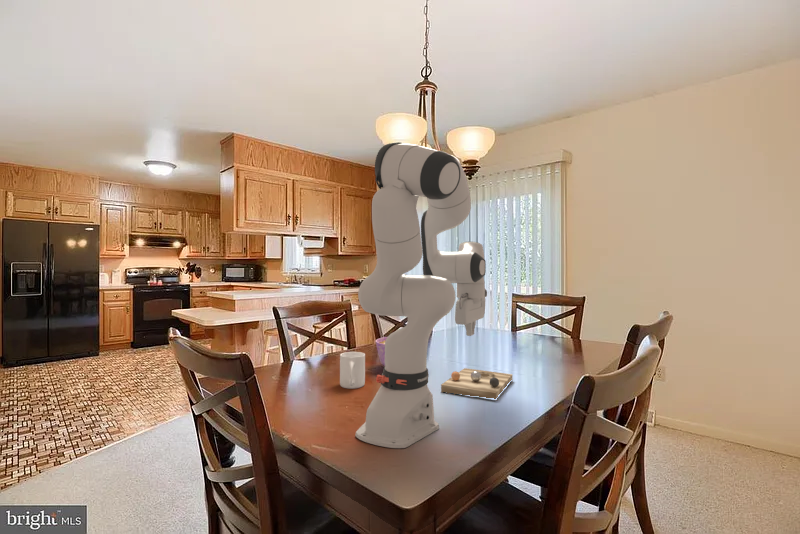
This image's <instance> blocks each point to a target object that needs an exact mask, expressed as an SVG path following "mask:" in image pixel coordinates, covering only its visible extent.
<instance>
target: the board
mask: <svg viewBox="0 0 800 534" xmlns="http://www.w3.org/2000/svg"><path fill="white" fill-rule="evenodd" d="M473 371H478V372H480V374H481V379H480V381H478V382H475V381H473V380H472V379H471V373H472V372H473ZM457 372H458V373H459V374H460V378H459V380H453V379H452V377H451V376H450V378H449V379H447V380H446V381H444V382H443V383H442V384H440V393H443V392H447V393H446V394H449V393H454V394H453V395H455V394H462V395H470V396H479V397H486V398H494V399H496V398H497V397H498V395H499V394H500V393H501V392H502V391H503V389H504V388H505V387H506V386H507V384H508V383H509V382H510V381H511V380H512V381H513V373H504V372H497V371H489V370H482V369H475V368H474V369H473V368H467V367H463V368H462V369H461V370H460V371H457ZM493 377H495V378H497V379H498V380H499V385H498V386H497V387H492V386H491V385H490V379H491V378H493Z"/></svg>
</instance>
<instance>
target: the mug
mask: <svg viewBox="0 0 800 534" xmlns="http://www.w3.org/2000/svg"><path fill="white" fill-rule="evenodd" d="M365 382H366V353H365V352H361V351H348V352H346V351H345V352H343V353H340V355H339V385H340V387H342V388H343V389H353V390H354V389H359V388H363V387H364V386H365V385H366V384H365Z"/></svg>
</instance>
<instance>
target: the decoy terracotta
mask: <svg viewBox="0 0 800 534" xmlns="http://www.w3.org/2000/svg"><path fill="white" fill-rule="evenodd" d="M458 372H459V371H457V370H456V371H453V372H452V373H451V374H450V375H451V376H450V378H451V377H452V379H453V380H459V378H460V374H459V373H458Z"/></svg>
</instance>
